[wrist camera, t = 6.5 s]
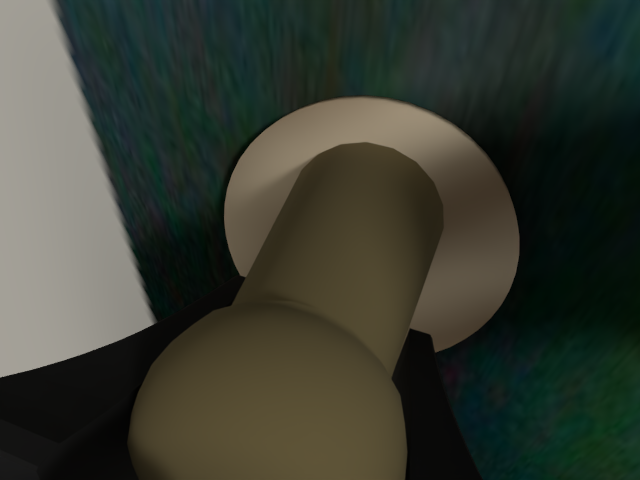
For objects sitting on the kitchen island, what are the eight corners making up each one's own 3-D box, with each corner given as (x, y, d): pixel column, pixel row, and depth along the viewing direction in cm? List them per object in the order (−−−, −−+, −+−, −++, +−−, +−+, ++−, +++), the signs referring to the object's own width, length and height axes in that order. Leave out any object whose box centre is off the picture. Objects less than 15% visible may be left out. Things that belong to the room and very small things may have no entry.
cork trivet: (585, 270, 15) (591, 283, 14) (356, 378, 21) (353, 390, 20) (367, 13, 12) (362, 13, 12) (187, 220, 19) (178, 228, 18)
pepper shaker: (426, 122, 13) (356, 405, 4) (457, 274, 15) (459, 665, 6) (268, 162, 15) (-8, 394, 6) (317, 288, 18) (172, 585, 9)
